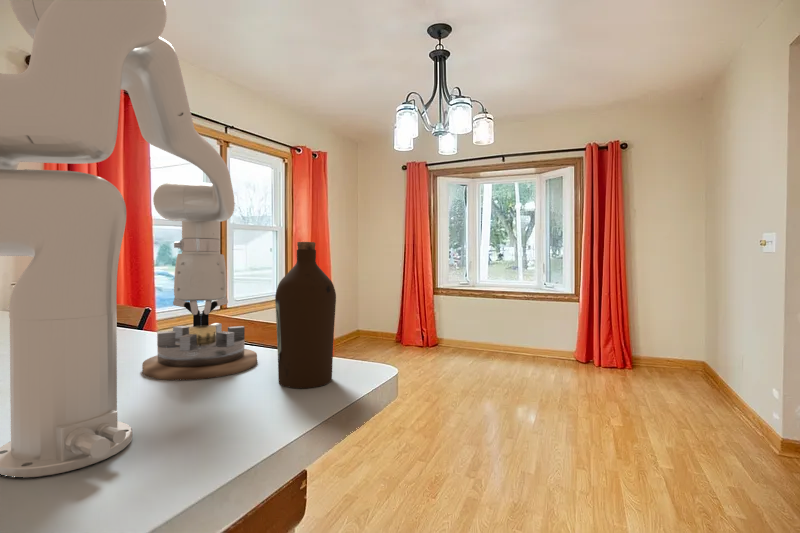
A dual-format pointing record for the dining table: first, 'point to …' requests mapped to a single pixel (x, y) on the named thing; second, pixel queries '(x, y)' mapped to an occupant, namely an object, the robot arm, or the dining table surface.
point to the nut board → (198, 368)
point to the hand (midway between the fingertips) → (201, 332)
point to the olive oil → (305, 323)
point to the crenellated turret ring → (200, 345)
